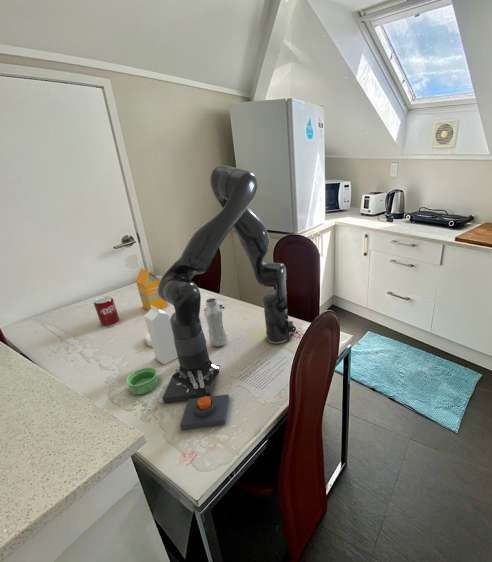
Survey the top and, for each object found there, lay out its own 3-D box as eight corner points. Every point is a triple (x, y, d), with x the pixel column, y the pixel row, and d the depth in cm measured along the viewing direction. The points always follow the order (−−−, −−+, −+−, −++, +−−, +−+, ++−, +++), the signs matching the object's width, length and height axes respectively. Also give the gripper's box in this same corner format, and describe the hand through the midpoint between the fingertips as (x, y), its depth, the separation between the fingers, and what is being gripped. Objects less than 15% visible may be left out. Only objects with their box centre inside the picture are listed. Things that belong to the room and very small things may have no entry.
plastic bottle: (222, 349, 123) (214, 304, 115) (207, 347, 124) (198, 303, 116) (230, 340, 129) (223, 297, 121) (215, 338, 130) (207, 295, 122)
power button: (212, 399, 94) (211, 395, 93) (210, 408, 91) (209, 404, 90) (199, 401, 93) (198, 396, 93) (197, 410, 90) (196, 406, 89)
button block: (229, 399, 99) (227, 389, 97) (225, 425, 90) (223, 414, 88) (190, 404, 97) (187, 394, 96) (181, 430, 88) (178, 420, 86)
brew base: (216, 375, 109) (215, 369, 108) (210, 398, 99) (209, 391, 98) (174, 380, 107) (172, 374, 106) (164, 404, 97) (162, 397, 96)
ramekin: (127, 399, 99) (124, 388, 98) (131, 381, 107) (127, 371, 105) (158, 391, 103) (155, 380, 101) (160, 374, 110) (157, 364, 108)
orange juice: (158, 301, 162) (149, 265, 154) (167, 306, 157) (158, 269, 149) (142, 307, 156) (132, 270, 148) (151, 312, 151) (141, 274, 143)
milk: (171, 351, 123) (158, 301, 114) (179, 357, 119) (167, 305, 111) (155, 359, 118) (141, 307, 109) (164, 365, 115) (149, 312, 106)
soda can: (97, 325, 141) (89, 301, 136) (112, 317, 147) (105, 295, 142) (108, 328, 139) (100, 304, 134) (123, 320, 145) (116, 297, 140)
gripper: (160, 357, 79) (175, 408, 86) (214, 352, 81) (224, 402, 88) (169, 340, 86) (182, 389, 93) (218, 336, 88) (227, 383, 95)
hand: (202, 395), depth 91 cm, fingers closed
